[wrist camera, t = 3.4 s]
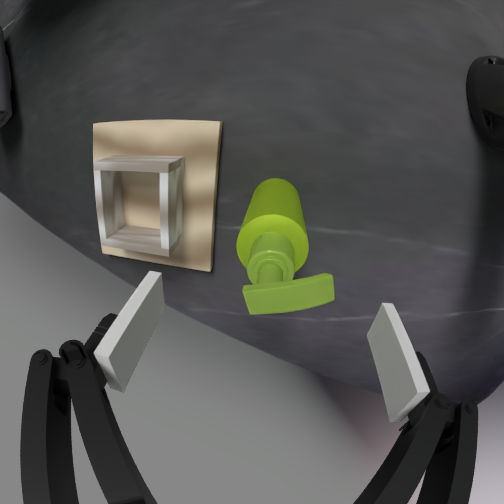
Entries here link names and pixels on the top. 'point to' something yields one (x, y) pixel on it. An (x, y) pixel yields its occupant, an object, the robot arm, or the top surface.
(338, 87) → the top surface
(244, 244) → the soap dispenser
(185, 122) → the dispenser caddy
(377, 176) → the top surface
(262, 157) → the top surface
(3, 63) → the bluetooth speaker
